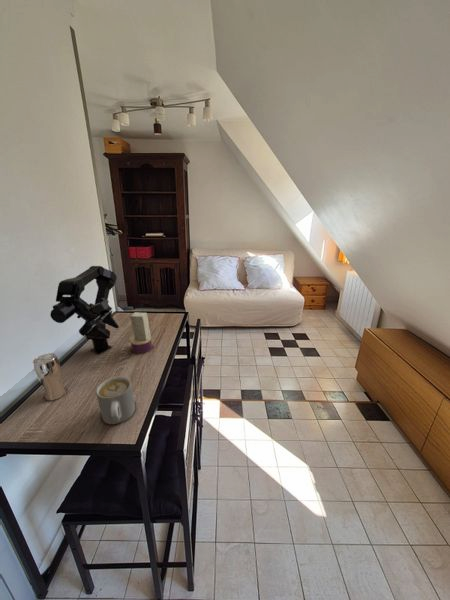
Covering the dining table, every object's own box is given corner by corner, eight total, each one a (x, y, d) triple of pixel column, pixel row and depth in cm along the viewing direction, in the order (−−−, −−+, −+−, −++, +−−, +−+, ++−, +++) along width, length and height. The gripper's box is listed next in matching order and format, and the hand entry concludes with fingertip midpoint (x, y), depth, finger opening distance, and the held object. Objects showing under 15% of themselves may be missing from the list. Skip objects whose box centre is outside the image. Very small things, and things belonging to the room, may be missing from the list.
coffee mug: (107, 402, 85) (102, 378, 81) (137, 399, 86) (133, 375, 83) (93, 435, 72) (86, 408, 69) (129, 431, 74) (124, 404, 70)
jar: (127, 350, 116) (125, 340, 114) (142, 341, 123) (140, 331, 121) (142, 355, 111) (140, 345, 110) (156, 346, 119) (155, 335, 117)
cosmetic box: (150, 336, 117) (147, 312, 113) (146, 341, 113) (142, 316, 109) (138, 335, 118) (134, 311, 114) (133, 339, 114) (129, 315, 110)
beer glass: (51, 388, 92) (40, 353, 87) (70, 387, 92) (61, 352, 87) (39, 402, 85) (27, 365, 80) (60, 400, 86) (49, 363, 81)
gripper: (80, 302, 89) (116, 330, 93) (103, 287, 107) (133, 311, 110) (63, 323, 92) (99, 348, 95) (88, 305, 109) (118, 327, 113)
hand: (113, 332), depth 104 cm, fingers open, 9 cm apart
